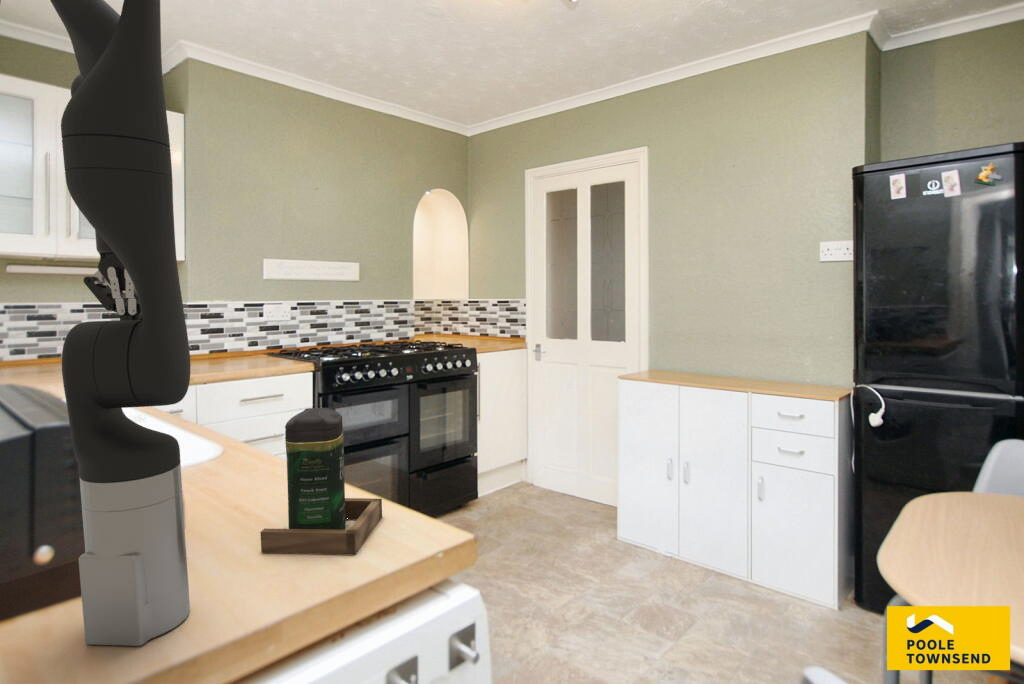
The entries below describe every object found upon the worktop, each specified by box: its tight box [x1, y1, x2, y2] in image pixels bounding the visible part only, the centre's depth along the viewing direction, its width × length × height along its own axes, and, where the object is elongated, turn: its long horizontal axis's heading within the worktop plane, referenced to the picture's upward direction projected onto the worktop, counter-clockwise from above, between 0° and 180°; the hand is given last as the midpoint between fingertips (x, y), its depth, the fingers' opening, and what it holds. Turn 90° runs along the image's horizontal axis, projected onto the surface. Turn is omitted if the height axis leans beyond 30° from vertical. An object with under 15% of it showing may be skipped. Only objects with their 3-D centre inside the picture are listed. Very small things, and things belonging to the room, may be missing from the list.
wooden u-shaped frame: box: [259, 497, 383, 555], centre depth 89 cm, size 13×13×3 cm
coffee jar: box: [284, 407, 347, 530], centre depth 89 cm, size 10×8×19 cm
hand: (134, 340), depth 89 cm, fingers closed
